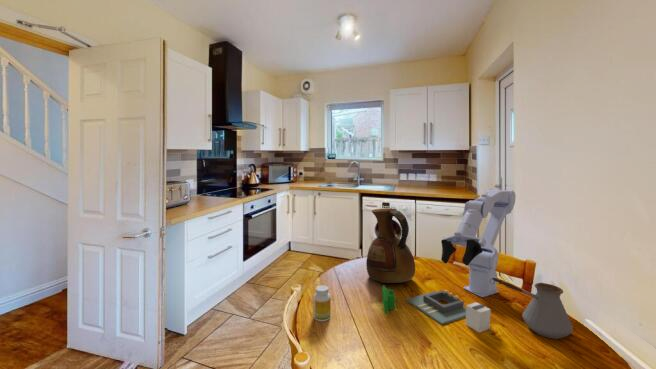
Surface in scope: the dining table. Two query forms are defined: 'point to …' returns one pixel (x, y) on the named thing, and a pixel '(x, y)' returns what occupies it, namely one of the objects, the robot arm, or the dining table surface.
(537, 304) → the coffee pot
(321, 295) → the supplement bottle
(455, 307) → the header socket
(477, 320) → the plug
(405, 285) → the dining table surface
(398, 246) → the ceramic pitcher
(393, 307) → the pipe clamp
